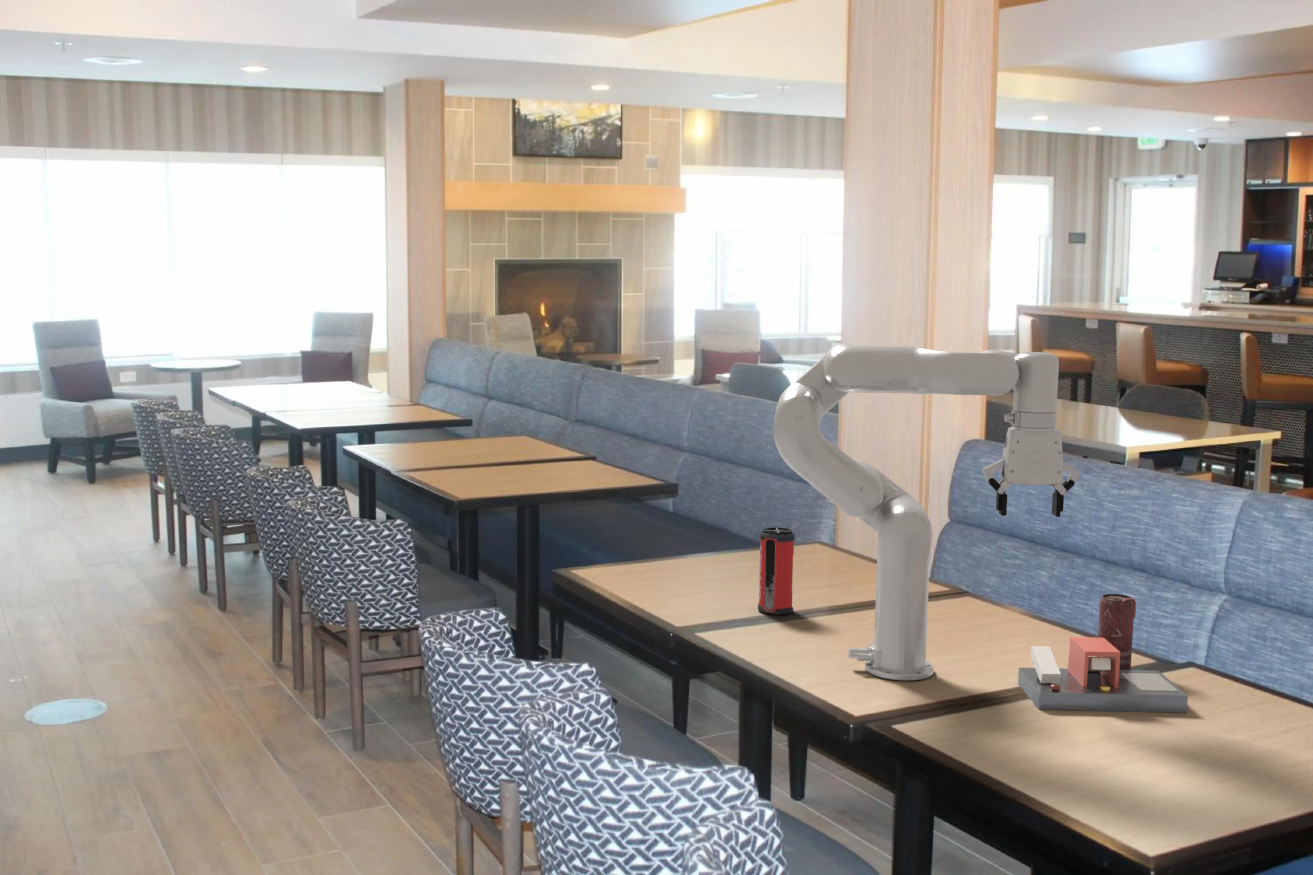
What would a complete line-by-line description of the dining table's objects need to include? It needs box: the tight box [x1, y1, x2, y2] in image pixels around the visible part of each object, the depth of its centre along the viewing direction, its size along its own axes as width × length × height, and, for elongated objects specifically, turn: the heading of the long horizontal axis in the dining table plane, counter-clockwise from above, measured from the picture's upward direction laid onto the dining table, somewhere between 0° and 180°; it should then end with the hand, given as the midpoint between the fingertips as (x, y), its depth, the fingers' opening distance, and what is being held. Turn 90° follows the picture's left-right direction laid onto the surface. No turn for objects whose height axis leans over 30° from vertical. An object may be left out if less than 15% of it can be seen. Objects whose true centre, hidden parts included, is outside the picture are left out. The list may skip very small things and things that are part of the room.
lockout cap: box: [1067, 636, 1120, 688], centre depth 228 cm, size 6×9×6 cm, turn 179°
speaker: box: [757, 527, 796, 616], centre depth 282 cm, size 8×8×18 cm
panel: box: [1017, 667, 1189, 714], centre depth 228 cm, size 25×14×4 cm, turn 89°
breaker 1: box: [1029, 645, 1061, 683], centre depth 228 cm, size 3×8×2 cm, turn 179°
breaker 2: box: [1088, 656, 1111, 672], centre depth 228 cm, size 3×8×2 cm, turn 179°
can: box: [1096, 593, 1137, 670], centre depth 244 cm, size 6×6×14 cm
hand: (1029, 515), depth 235 cm, fingers open, 9 cm apart
